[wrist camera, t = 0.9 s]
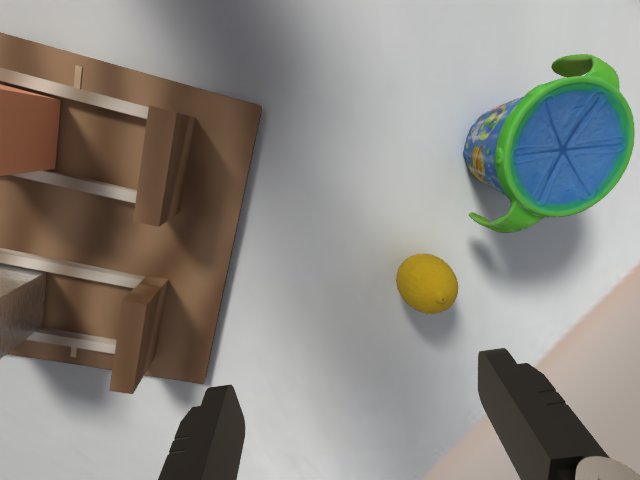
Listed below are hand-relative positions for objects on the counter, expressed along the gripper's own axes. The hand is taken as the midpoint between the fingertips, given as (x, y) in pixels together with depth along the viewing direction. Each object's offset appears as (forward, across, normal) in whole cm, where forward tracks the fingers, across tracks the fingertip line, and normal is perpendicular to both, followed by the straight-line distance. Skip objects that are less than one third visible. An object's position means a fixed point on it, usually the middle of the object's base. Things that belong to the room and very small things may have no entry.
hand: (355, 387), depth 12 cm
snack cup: (+29, -18, 0) cm, 34 cm away
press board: (+24, +23, 0) cm, 33 cm away
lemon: (+26, -8, +11) cm, 30 cm away
